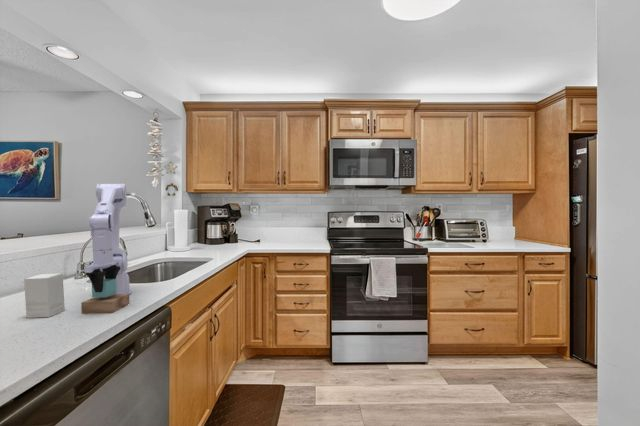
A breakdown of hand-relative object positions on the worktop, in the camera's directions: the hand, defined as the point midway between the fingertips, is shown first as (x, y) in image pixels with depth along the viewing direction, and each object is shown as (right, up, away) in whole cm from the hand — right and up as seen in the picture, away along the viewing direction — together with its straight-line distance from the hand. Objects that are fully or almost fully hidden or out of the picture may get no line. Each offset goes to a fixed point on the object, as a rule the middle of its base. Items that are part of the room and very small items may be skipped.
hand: (104, 289), depth 117 cm
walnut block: (+1, -7, 0) cm, 7 cm away
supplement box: (-16, -7, -4) cm, 18 cm away
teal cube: (0, -2, 0) cm, 2 cm away
